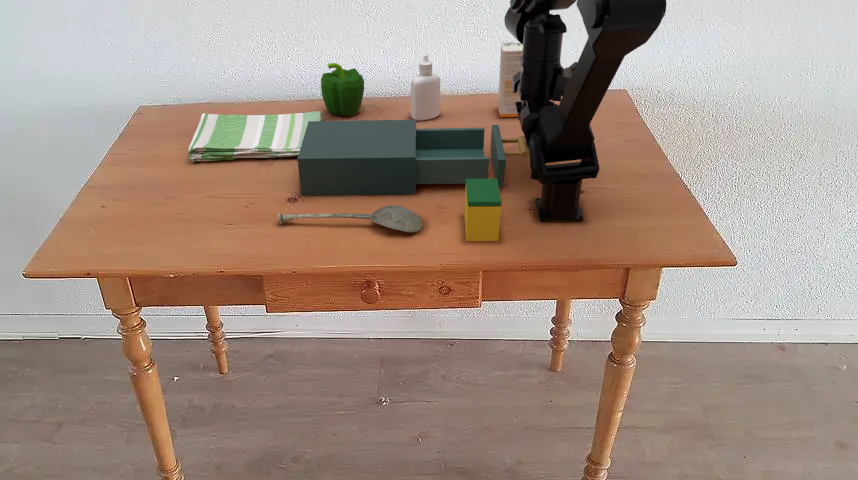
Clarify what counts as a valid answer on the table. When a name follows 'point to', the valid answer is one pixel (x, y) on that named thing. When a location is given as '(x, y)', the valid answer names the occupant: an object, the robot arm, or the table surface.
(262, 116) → the dish towel
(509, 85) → the supplement box
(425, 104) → the eye dropper bottle
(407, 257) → the table surface
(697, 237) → the table surface
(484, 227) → the sponge
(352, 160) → the cabinet
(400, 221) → the soupspoon
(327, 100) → the bell pepper
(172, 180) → the table surface
